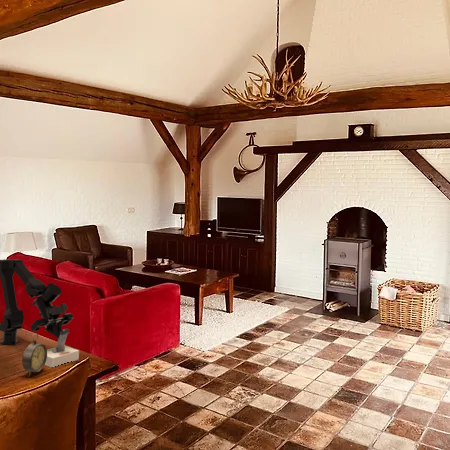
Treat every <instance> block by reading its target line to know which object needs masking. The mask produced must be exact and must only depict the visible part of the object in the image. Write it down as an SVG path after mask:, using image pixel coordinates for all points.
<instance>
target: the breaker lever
mask: <svg viewBox="0 0 450 450" xmlns="http://www.w3.org/2000/svg"><path fill="white" fill-rule="evenodd" d="M68 334H70V328H63V329H62V330H60V336H59V339H58V338H57V343H56V349H57V351H56V352H59V351H62V350H63V347H64V346H65V344H66V340H67V337H68Z"/></svg>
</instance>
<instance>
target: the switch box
mask: <svg viewBox="0 0 450 450" xmlns="http://www.w3.org/2000/svg"><path fill="white" fill-rule="evenodd" d="M56 351H57V349H56V347H53V348H52V347H51V348H48V349H47V359H46V362H45V365H44V366H46V367H49V368H51V367H53V368H55V366H56V367H59V366H62V365H61V364H63V365H65V364H64V363H66V364H68V363H67V362H69V363H72V362H76V361H78V360H79V359H80V358H79V356H80V349H79V350H78V349H76V348H73V347H70V346H67V345H64V347H63V350H62V351H59V352H56ZM71 361H72V362H71ZM58 365H59V366H58Z"/></svg>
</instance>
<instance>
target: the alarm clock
mask: <svg viewBox="0 0 450 450" xmlns="http://www.w3.org/2000/svg"><path fill="white" fill-rule="evenodd" d="M35 336H36V339H35ZM38 337H39V334H38V332H36V333H34V335H33V337H32V340H33V343H30V344H29V345H27V347H26V348H25V349H24V351H23V354H22V359H21V362H22V363H21V365H22V367H23V369H24V370H25V371H26V372H28V373H29V374H28V376H27V378H30V377H31V375H32V373H39V372H41V371H43V368H44V367H45V366H46V365H45V362H46V359H47V350H48V349H47V346H46V345H45V344H43V343H39V342H37V341H38Z"/></svg>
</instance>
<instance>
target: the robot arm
mask: <svg viewBox="0 0 450 450" xmlns="http://www.w3.org/2000/svg"><path fill="white" fill-rule="evenodd" d="M15 273H16V275H17V276H18V277H19V279H20V280H21V281H22V282H23V284H24V286H25V287H24V289H25V292H26V293H27V295H28V297H30V298H34V299H33V302H32V306H33V307H34V306H36V307H37V309H38V311H39V314H38V316H39V317H42V318H38V319H35V320H34V322H33V323H32V324H30V330H31V331H32V332H33V333H34V332H38V331H39V330H40V327H45V328H44V330H43V331H44V332H48V333H49V334H51V335H52V336H54V337H56V339H57V340H58V339H59V336H60V330H63V329H62V328H63V326H65V325H67V324H69V323H70V322H72V320H73V319H74V318H75V317H74V315H73V313H72V312H69V313H66V312H67V311H68V310H69V308H68V305H67V303H61V304H59V305H58V306H56V305H53V304H52V303H53V302H54V301H55V300H57V299H58V297H60V295H61V294H62V289H61V287H59V286H58V285H57V284H55V283H54V282H49V283H47V285H46V284H45V283H44V282H43V281H42V280H40V279H38V278H36V277H35V276H34V275H33V273H32V272H31V271H30V270H29V269H28V268H27V267H26V265H25V264H24V261H23V260H22V259H20V258H16V259H15V258H14V259H11V258H8V259H7V258H5V259H0V280H1V287H2V294H3V299H4V305H5V311H4V313H3V315H2V318H3V319H2V321H1V322H0V331H1V332H3V333H2V335H3V336H2V340H1V342H0V345H11V346H12V345H13V346H14V345H16V344H17V343H18V342H19V339H17V336H18V335H17V333H18V330H22V327H23V326H24V323H25V315H24V311H23V309H19V307H18V302H17V297H16V291H15V284H14V277H13V276H14V274H15ZM61 314H62V315H61Z"/></svg>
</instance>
